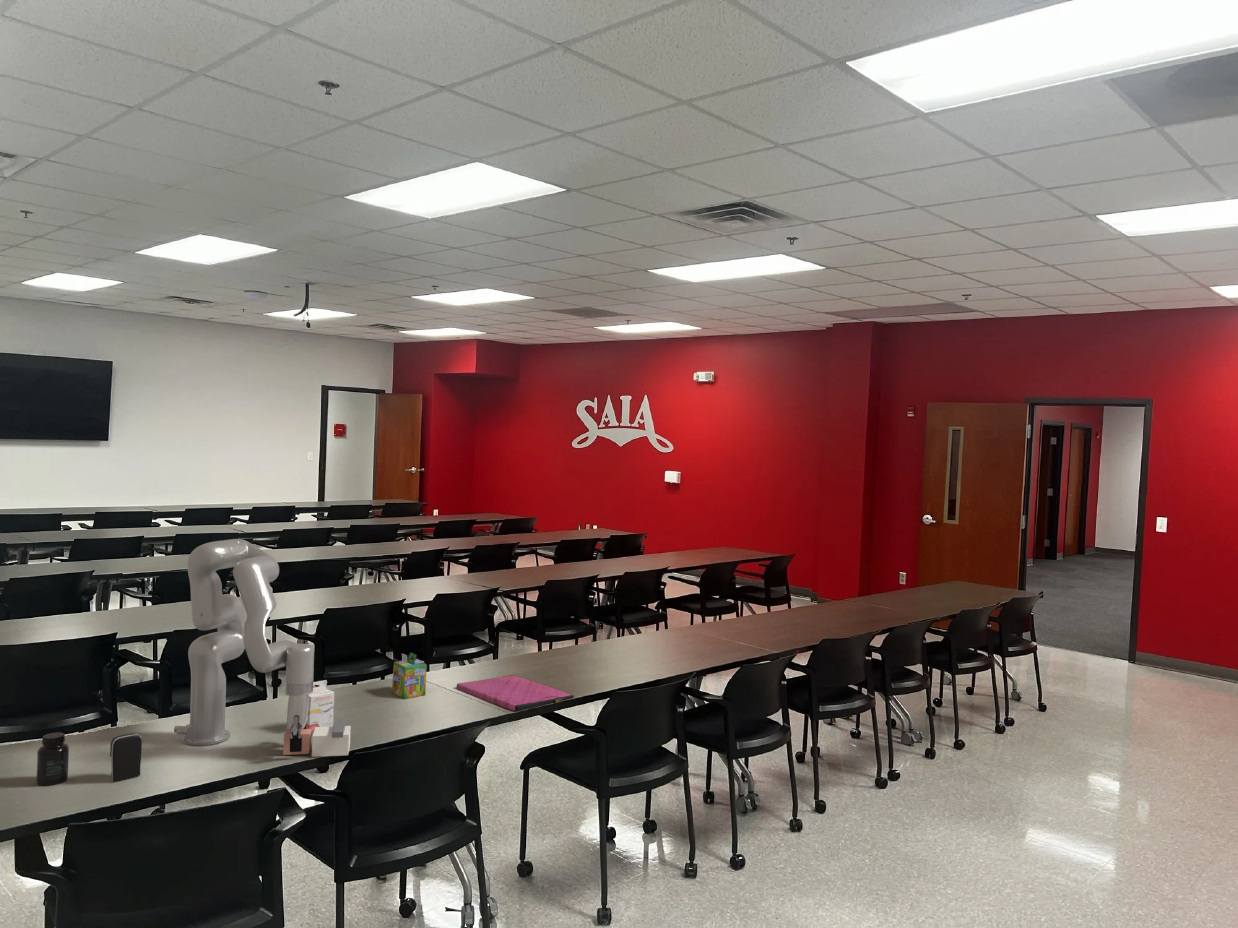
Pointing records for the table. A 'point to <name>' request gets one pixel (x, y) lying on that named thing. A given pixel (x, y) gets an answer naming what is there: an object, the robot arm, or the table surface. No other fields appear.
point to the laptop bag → (514, 692)
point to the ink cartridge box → (320, 707)
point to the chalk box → (409, 678)
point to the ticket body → (331, 740)
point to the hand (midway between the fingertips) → (297, 745)
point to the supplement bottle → (52, 760)
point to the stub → (305, 742)
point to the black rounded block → (125, 756)
